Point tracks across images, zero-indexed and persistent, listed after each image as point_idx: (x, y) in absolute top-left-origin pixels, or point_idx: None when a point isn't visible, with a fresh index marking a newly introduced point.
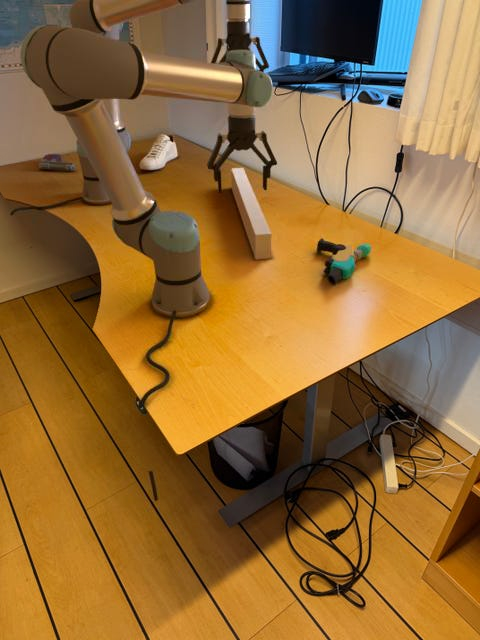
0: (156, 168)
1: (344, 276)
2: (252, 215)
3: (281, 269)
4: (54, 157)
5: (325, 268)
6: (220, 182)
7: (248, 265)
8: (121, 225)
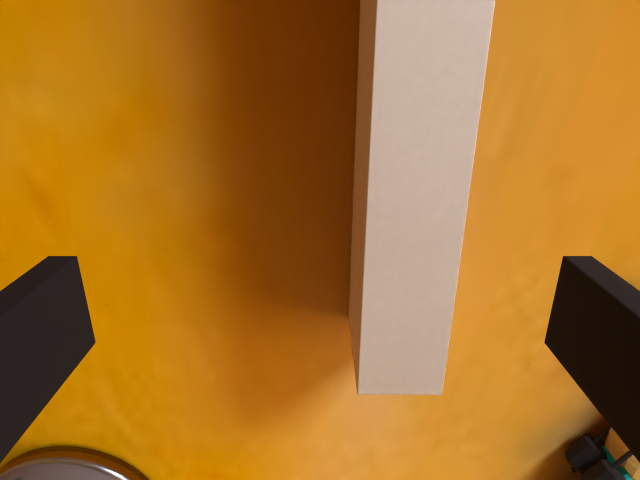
0: None
1: None
2: (397, 146)
3: (429, 395)
4: None
5: (578, 460)
6: (17, 426)
7: (313, 353)
8: None
